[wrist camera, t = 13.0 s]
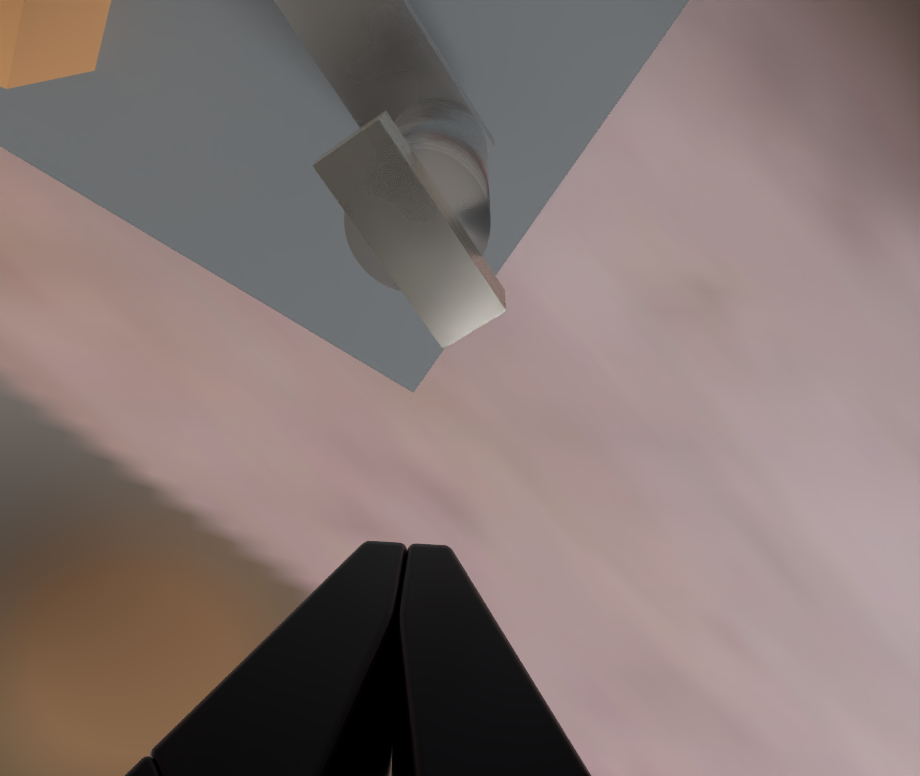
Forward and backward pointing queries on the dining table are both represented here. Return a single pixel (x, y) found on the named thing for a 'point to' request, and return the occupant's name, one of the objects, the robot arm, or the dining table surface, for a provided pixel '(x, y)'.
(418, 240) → the crank
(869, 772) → the dining table surface
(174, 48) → the crank bed
